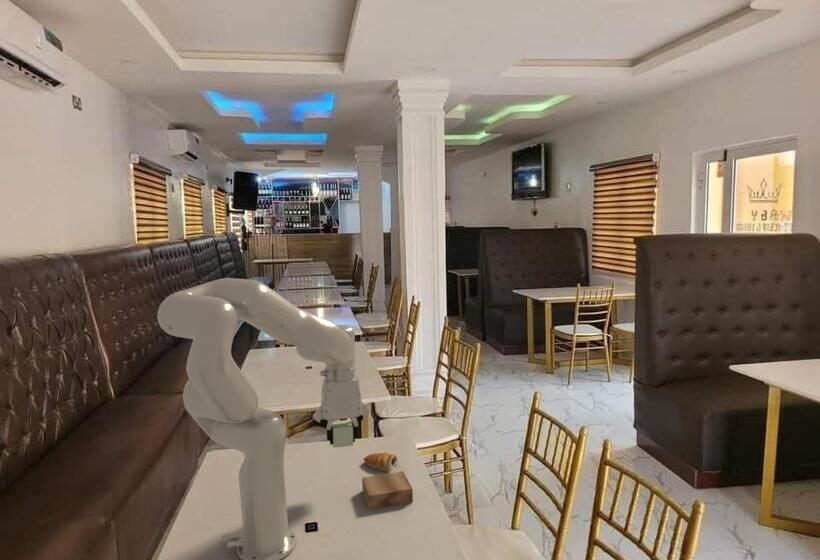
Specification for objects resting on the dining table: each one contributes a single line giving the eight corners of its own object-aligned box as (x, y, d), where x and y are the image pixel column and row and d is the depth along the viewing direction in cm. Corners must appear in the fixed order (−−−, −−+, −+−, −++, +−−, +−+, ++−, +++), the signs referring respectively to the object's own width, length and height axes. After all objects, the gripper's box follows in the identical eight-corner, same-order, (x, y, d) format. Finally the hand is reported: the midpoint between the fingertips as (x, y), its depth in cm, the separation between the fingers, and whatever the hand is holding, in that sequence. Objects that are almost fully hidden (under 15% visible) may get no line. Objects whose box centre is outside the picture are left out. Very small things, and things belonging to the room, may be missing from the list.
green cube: (333, 447, 138) (333, 429, 137) (331, 440, 143) (330, 421, 142) (353, 445, 139) (352, 426, 139) (349, 437, 144) (349, 419, 144)
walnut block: (369, 511, 132) (368, 496, 131) (362, 492, 141) (362, 477, 140) (412, 503, 135) (412, 488, 134) (403, 485, 144) (403, 471, 143)
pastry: (360, 468, 152) (359, 455, 152) (370, 457, 159) (369, 445, 158) (390, 473, 149) (390, 460, 149) (399, 462, 155) (399, 450, 155)
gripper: (308, 380, 133) (310, 451, 135) (376, 374, 138) (377, 443, 140) (305, 372, 140) (307, 439, 142) (370, 366, 145) (370, 432, 147)
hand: (341, 440), depth 141 cm, fingers closed on green cube, 5 cm apart
